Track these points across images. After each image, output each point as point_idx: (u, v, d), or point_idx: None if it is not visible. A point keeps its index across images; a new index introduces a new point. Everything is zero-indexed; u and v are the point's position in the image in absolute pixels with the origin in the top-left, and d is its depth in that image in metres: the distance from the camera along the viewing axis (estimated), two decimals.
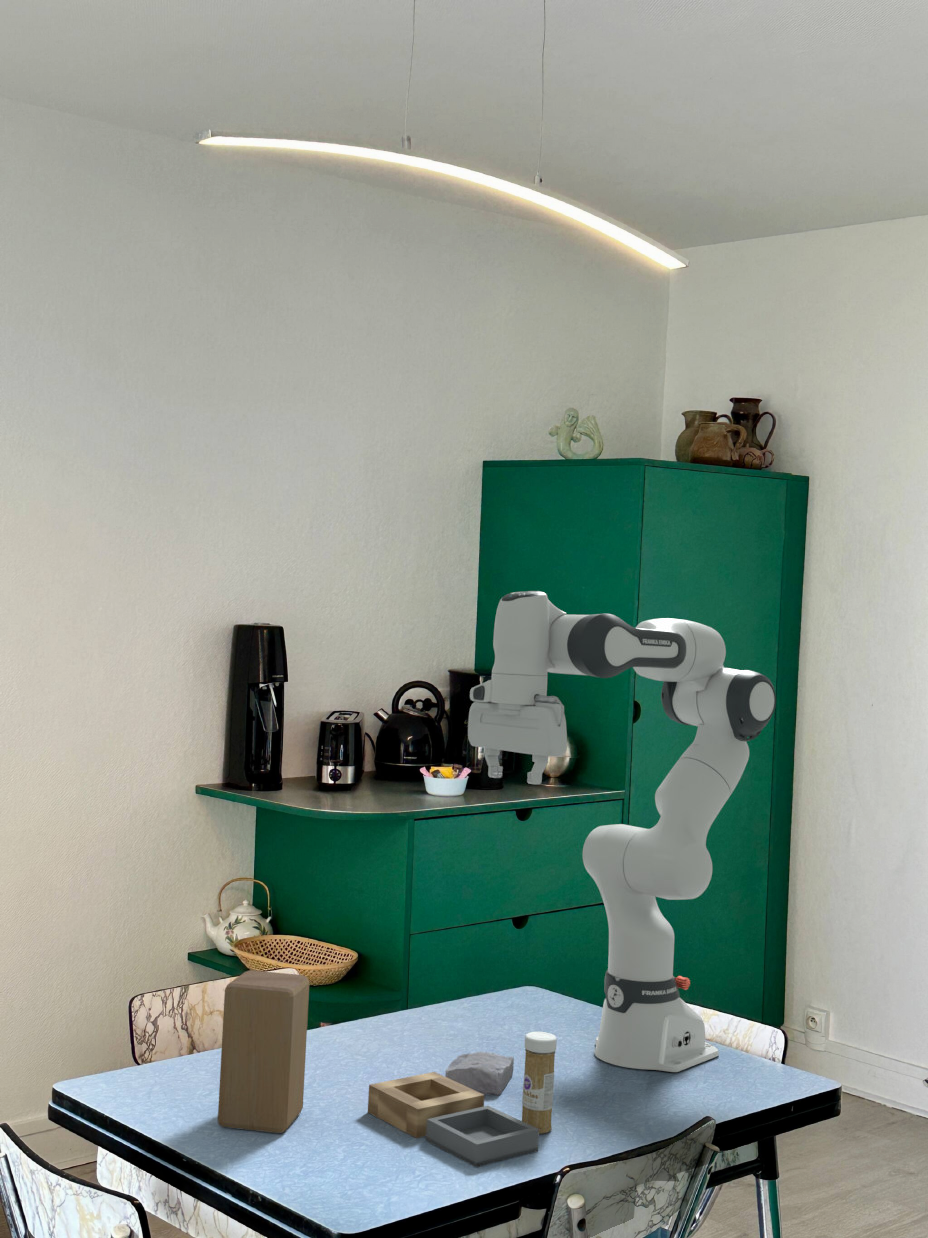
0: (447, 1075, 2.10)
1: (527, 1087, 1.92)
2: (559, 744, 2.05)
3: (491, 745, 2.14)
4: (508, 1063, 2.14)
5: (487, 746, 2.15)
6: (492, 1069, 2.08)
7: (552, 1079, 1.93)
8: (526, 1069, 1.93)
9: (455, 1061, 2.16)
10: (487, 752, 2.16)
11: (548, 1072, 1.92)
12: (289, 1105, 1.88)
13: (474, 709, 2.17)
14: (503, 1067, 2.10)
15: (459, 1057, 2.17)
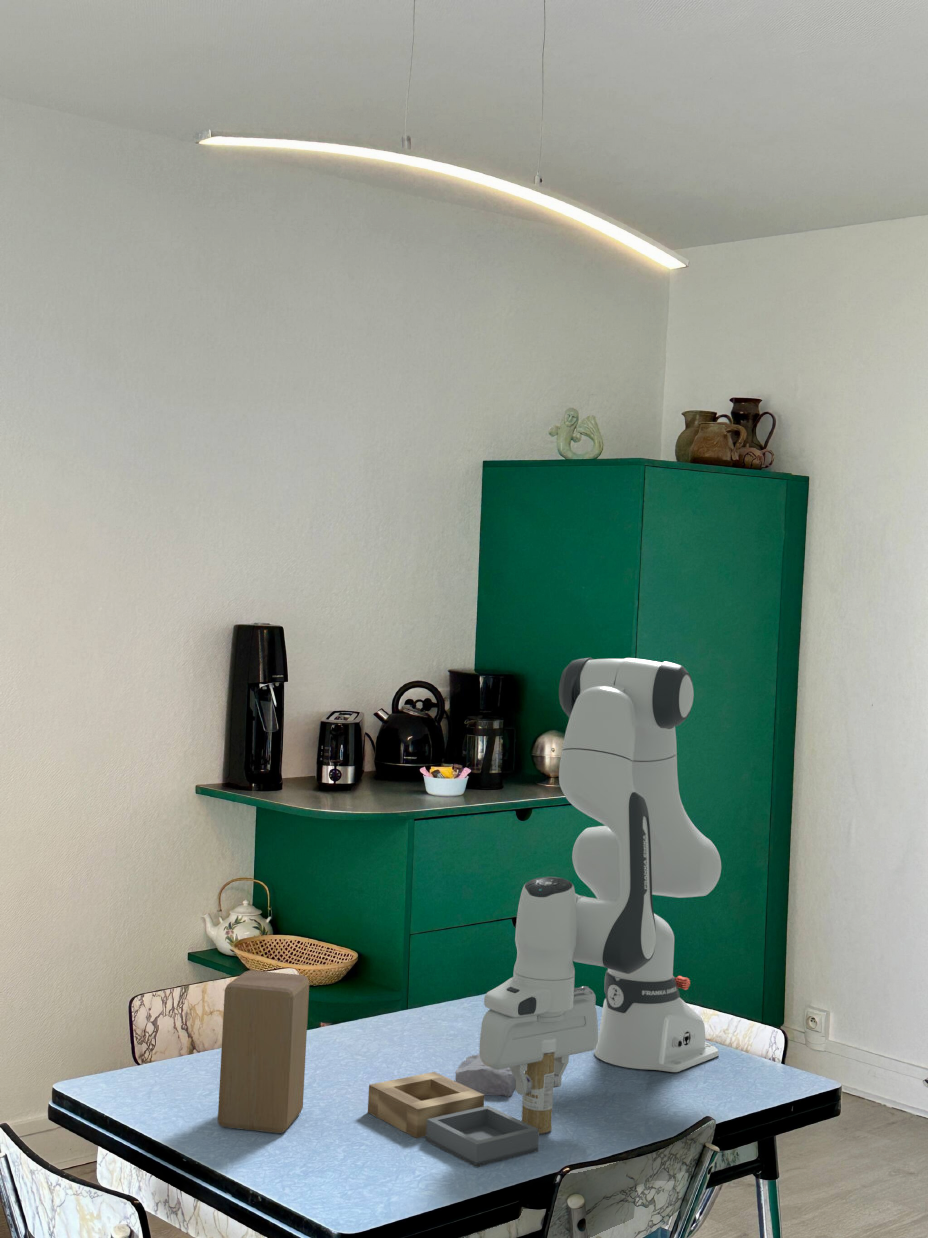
0: (457, 1076, 2.09)
1: None
2: None
3: (528, 1060, 1.90)
4: None
5: (522, 1063, 1.89)
6: (502, 1070, 2.08)
7: (552, 1079, 1.93)
8: None
9: (464, 1062, 2.15)
10: (524, 1068, 1.90)
11: (548, 1072, 1.92)
12: (289, 1105, 1.88)
13: (511, 1027, 1.87)
14: None
15: (468, 1058, 2.17)
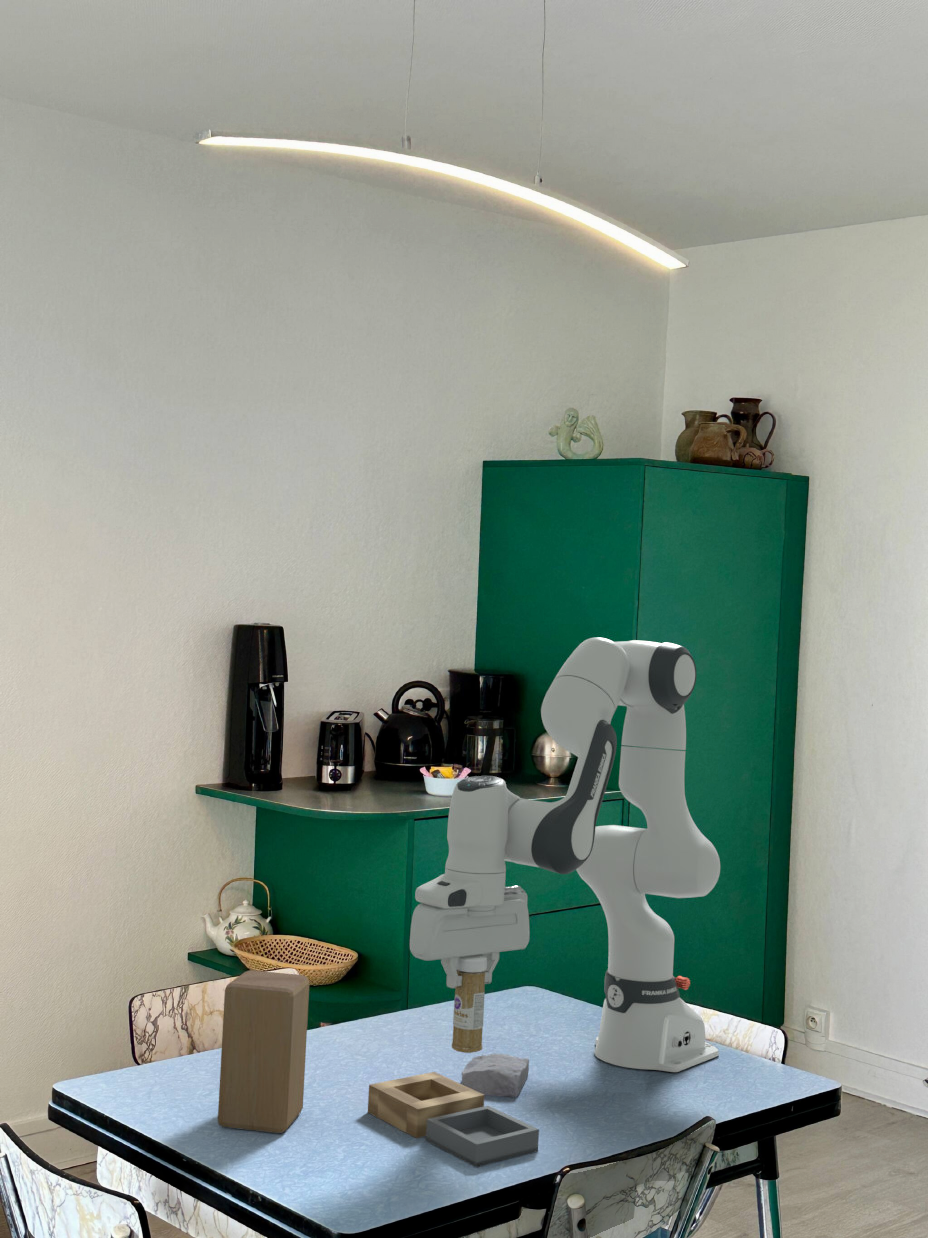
0: (464, 1077, 2.09)
1: (457, 1006, 1.93)
2: None
3: (458, 953, 1.91)
4: (524, 1065, 2.14)
5: (452, 956, 1.91)
6: (509, 1071, 2.08)
7: (482, 999, 1.94)
8: (456, 989, 1.94)
9: (470, 1063, 2.15)
10: (454, 961, 1.92)
11: (478, 991, 1.93)
12: (289, 1105, 1.88)
13: (441, 918, 1.88)
14: (520, 1069, 2.09)
15: (474, 1059, 2.17)
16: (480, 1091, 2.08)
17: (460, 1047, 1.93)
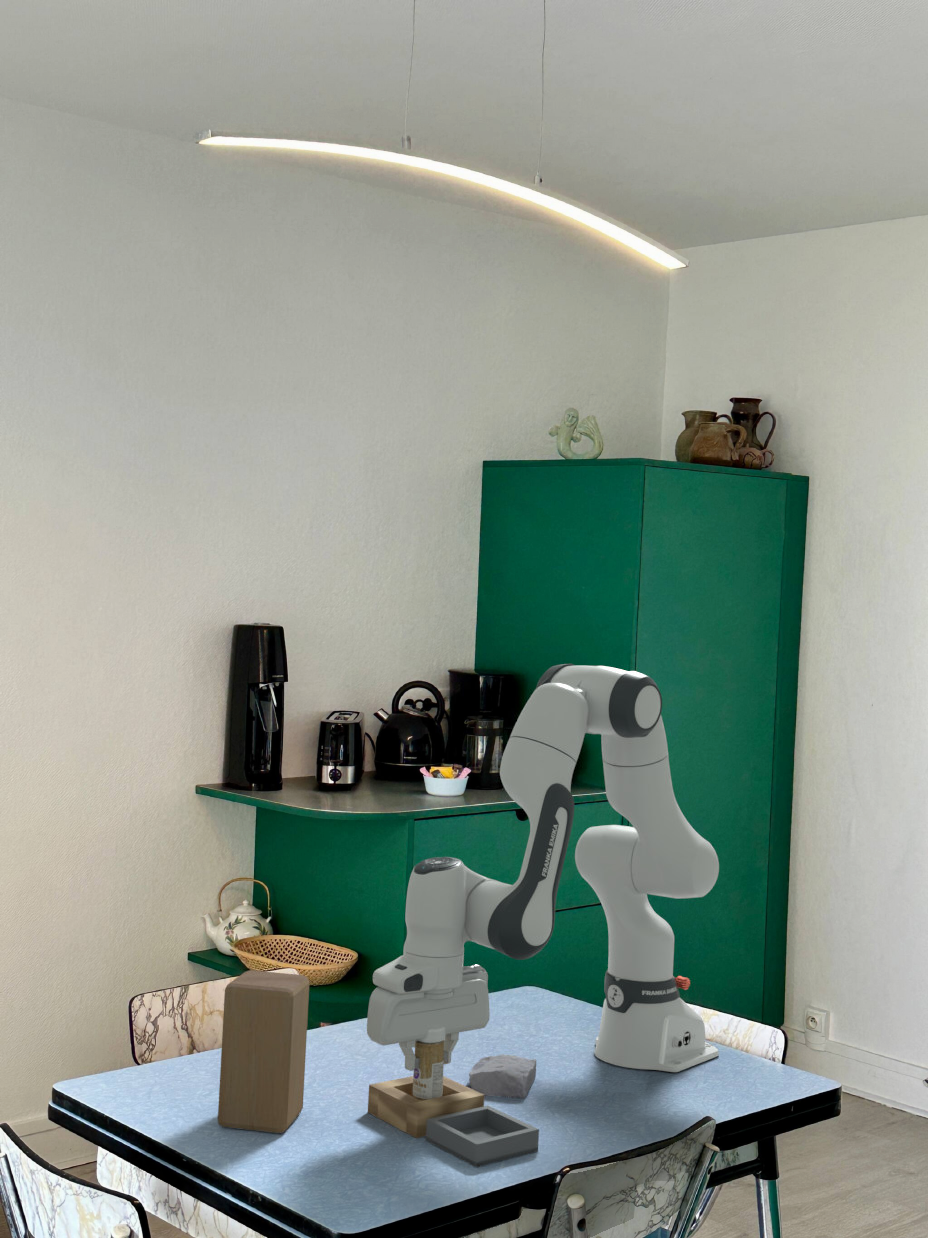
0: (471, 1078, 2.09)
1: (416, 1076, 1.94)
2: None
3: (415, 1037, 1.92)
4: (531, 1066, 2.14)
5: (409, 1039, 1.92)
6: (517, 1072, 2.07)
7: (441, 1068, 1.95)
8: None
9: (478, 1064, 2.15)
10: (412, 1044, 1.93)
11: (436, 1061, 1.94)
12: (289, 1105, 1.88)
13: (397, 1003, 1.89)
14: (528, 1070, 2.09)
15: (481, 1060, 2.17)
16: (488, 1092, 2.07)
17: None
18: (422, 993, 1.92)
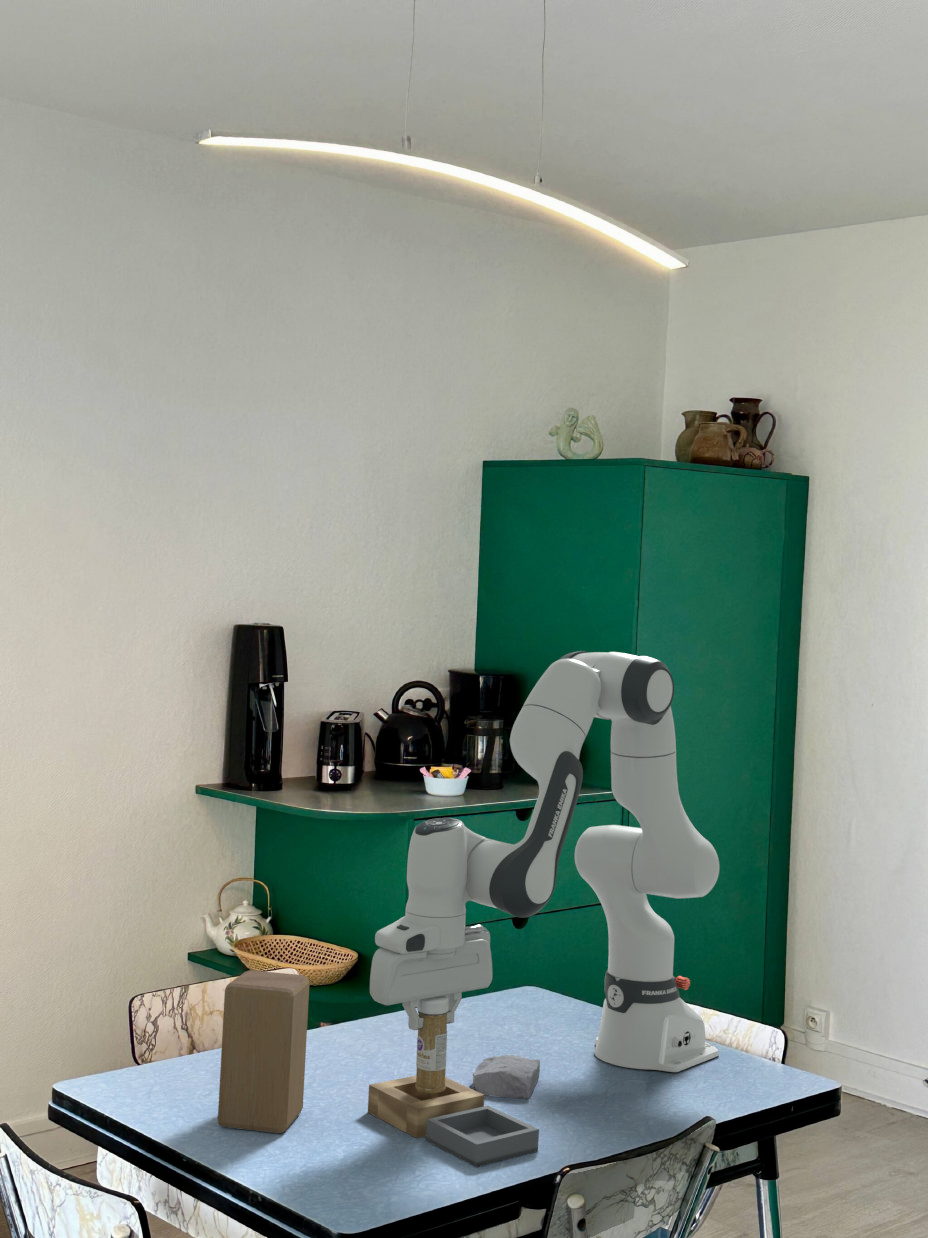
0: (475, 1079, 2.08)
1: (420, 1048, 1.95)
2: None
3: (418, 997, 1.93)
4: (535, 1066, 2.13)
5: (412, 999, 1.92)
6: (521, 1073, 2.07)
7: (444, 1040, 1.95)
8: (418, 1030, 1.96)
9: (481, 1064, 2.15)
10: (415, 1004, 1.93)
11: (440, 1033, 1.95)
12: (289, 1105, 1.88)
13: (400, 963, 1.90)
14: (531, 1070, 2.09)
15: (485, 1060, 2.16)
16: (492, 1093, 2.07)
17: (423, 1088, 1.95)
18: (424, 953, 1.92)
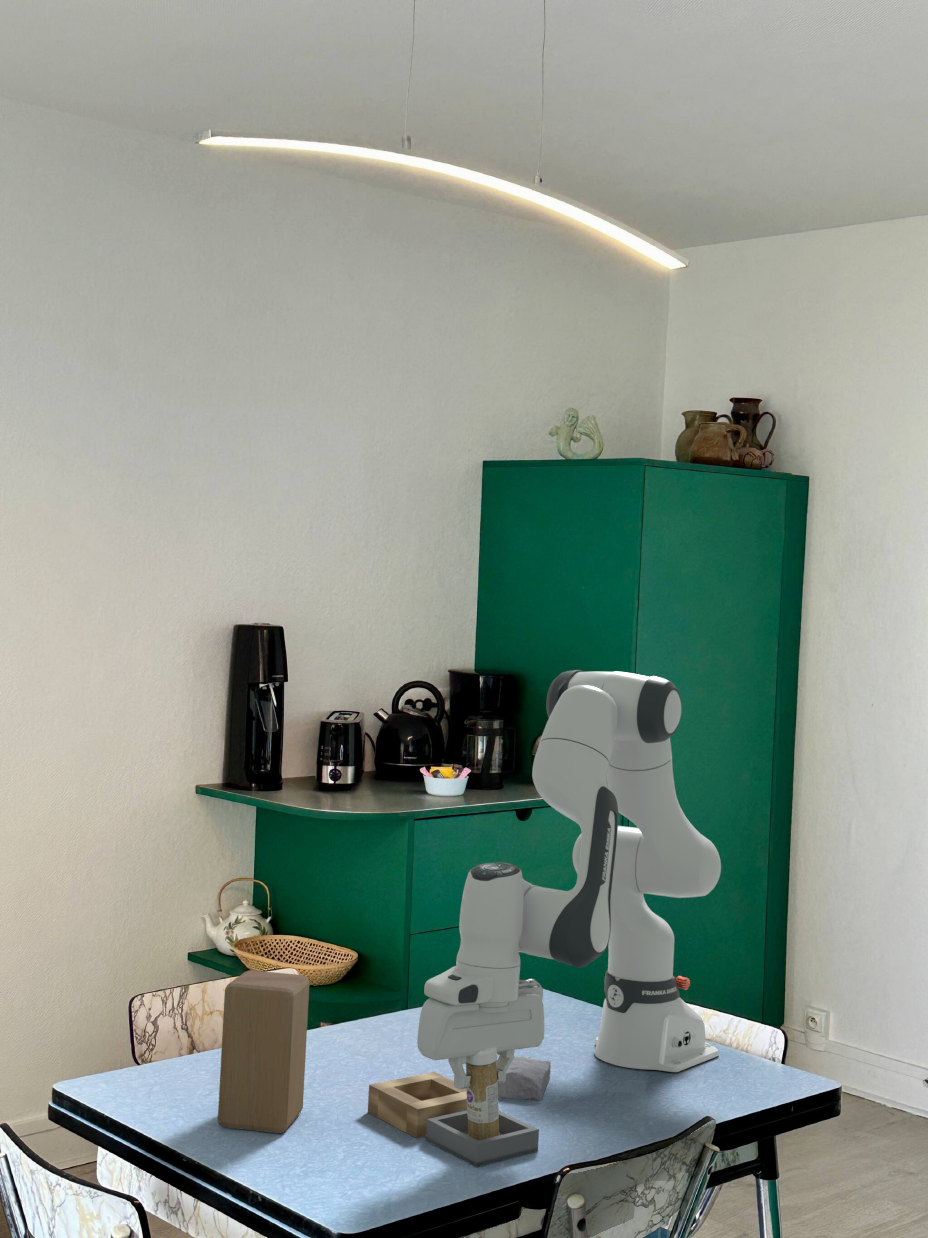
0: None
1: (470, 1100, 1.84)
2: None
3: (468, 1052, 1.81)
4: (546, 1067, 2.13)
5: (461, 1055, 1.81)
6: (532, 1074, 2.07)
7: (495, 1089, 1.84)
8: None
9: None
10: (462, 1061, 1.82)
11: (490, 1083, 1.83)
12: (289, 1105, 1.88)
13: (451, 1015, 1.79)
14: (543, 1071, 2.08)
15: (496, 1062, 2.16)
16: (503, 1094, 2.07)
17: None
18: (477, 1006, 1.81)
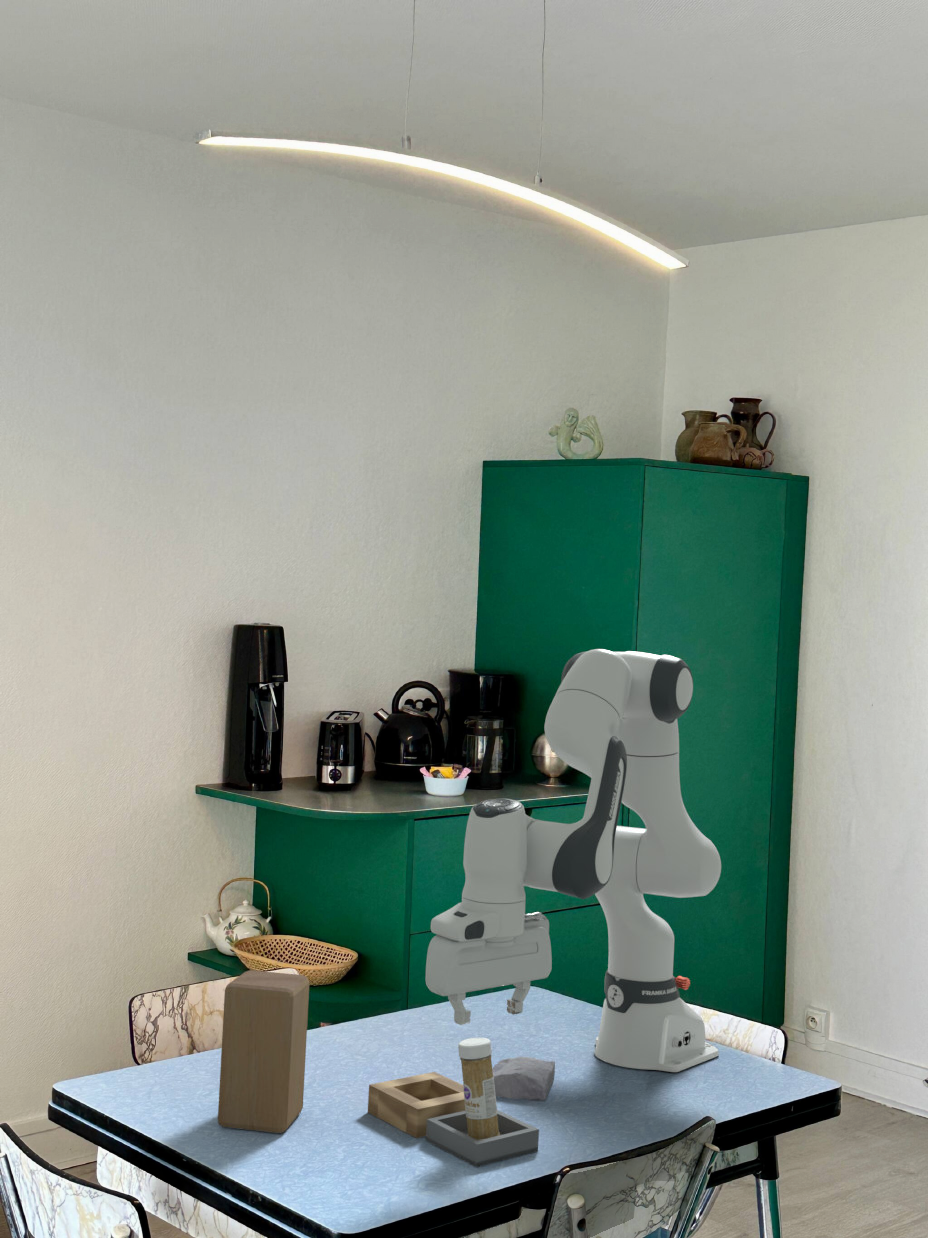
0: None
1: (467, 1096, 1.85)
2: None
3: (476, 987, 1.83)
4: (550, 1068, 2.13)
5: (470, 990, 1.82)
6: (537, 1074, 2.07)
7: (492, 1084, 1.85)
8: (464, 1078, 1.85)
9: (497, 1066, 2.14)
10: (462, 997, 1.82)
11: (486, 1077, 1.84)
12: (289, 1105, 1.88)
13: (458, 951, 1.80)
14: (547, 1072, 2.08)
15: (500, 1062, 2.16)
16: (508, 1094, 2.07)
17: (476, 1139, 1.84)
18: (483, 941, 1.82)
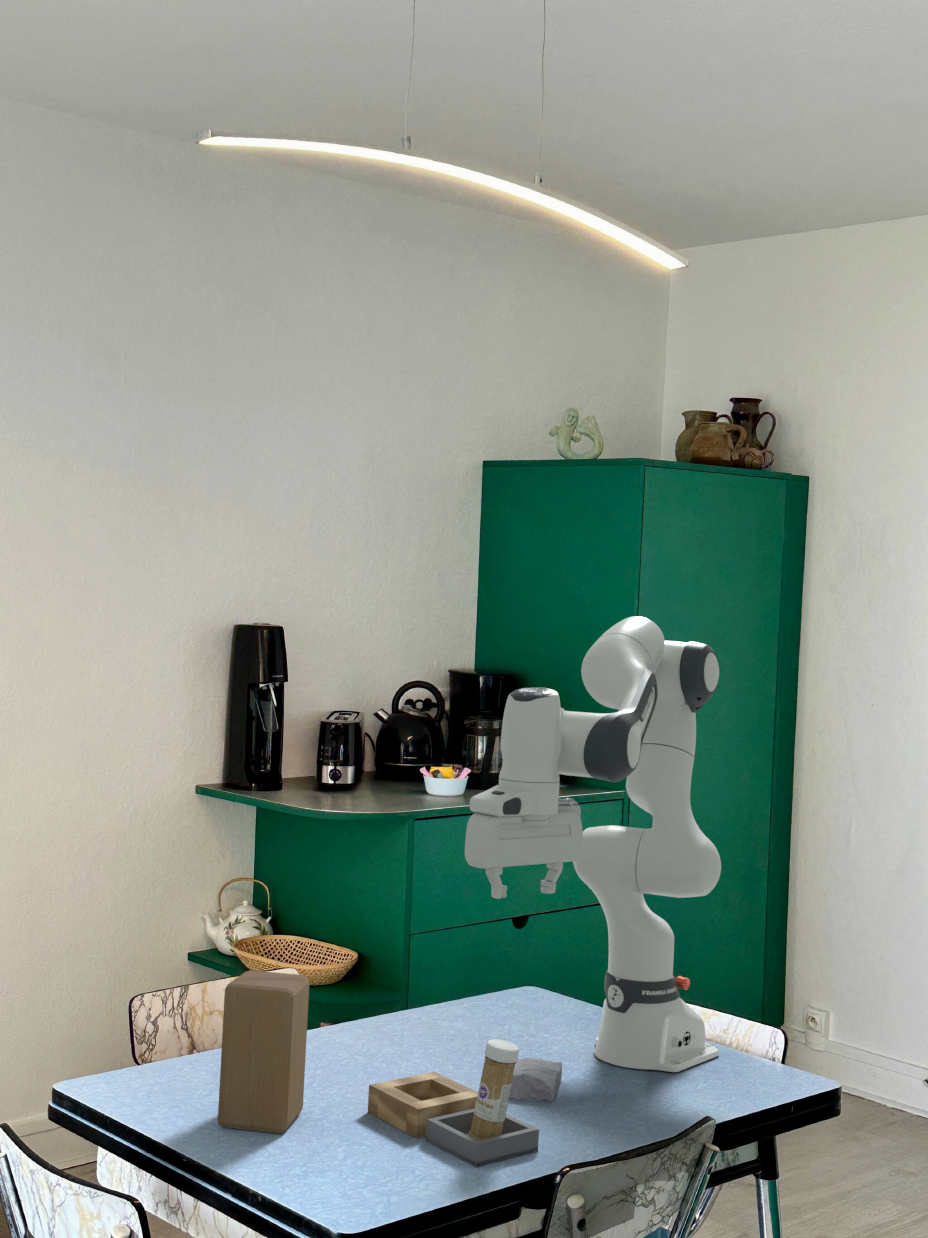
0: None
1: (483, 1096, 1.84)
2: None
3: (512, 862, 1.91)
4: (558, 1069, 2.13)
5: (507, 864, 1.91)
6: (544, 1075, 2.07)
7: (509, 1090, 1.85)
8: (484, 1077, 1.85)
9: None
10: (499, 871, 1.91)
11: (507, 1083, 1.84)
12: (289, 1105, 1.88)
13: (496, 826, 1.89)
14: (555, 1073, 2.08)
15: None
16: (515, 1095, 2.06)
17: (480, 1138, 1.84)
18: (520, 818, 1.91)
